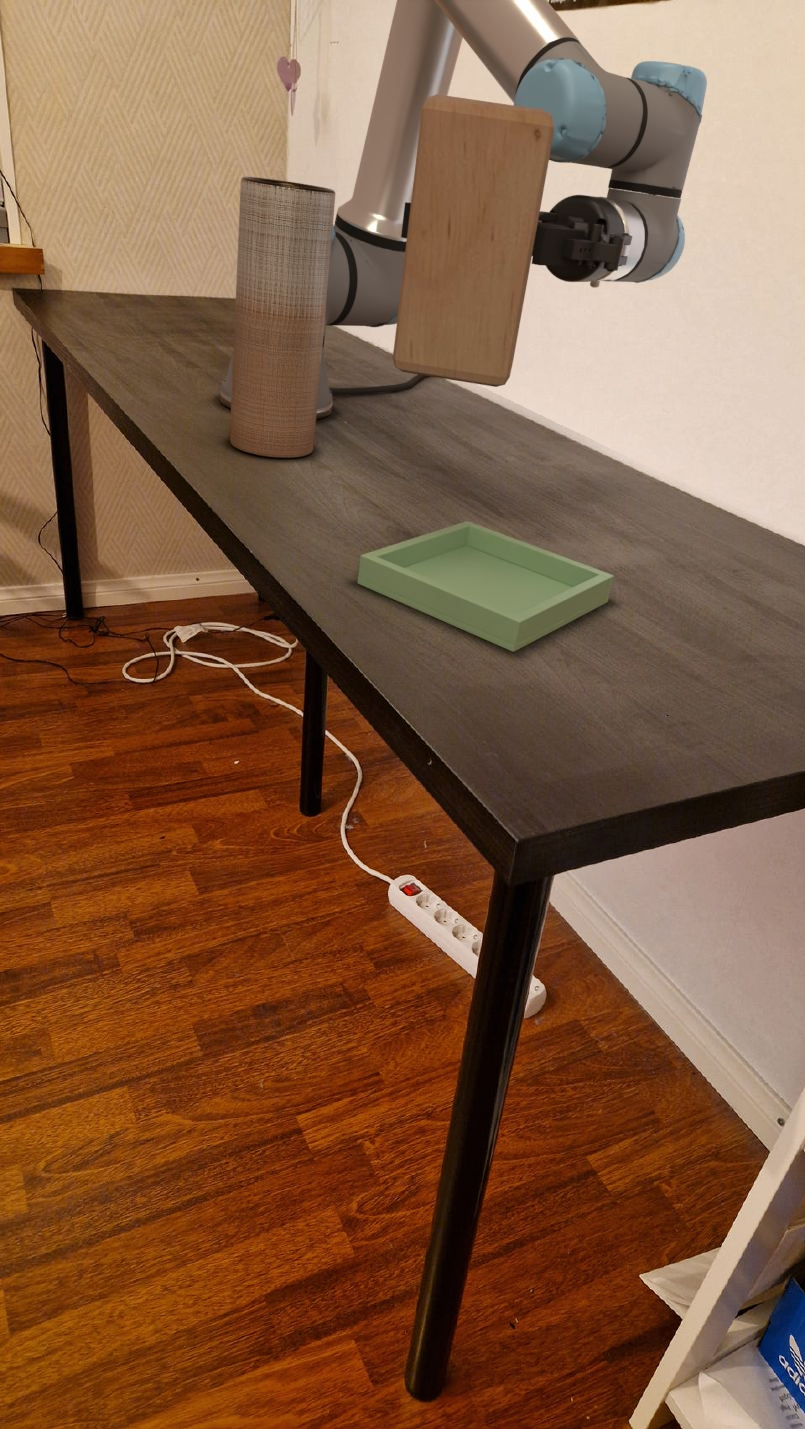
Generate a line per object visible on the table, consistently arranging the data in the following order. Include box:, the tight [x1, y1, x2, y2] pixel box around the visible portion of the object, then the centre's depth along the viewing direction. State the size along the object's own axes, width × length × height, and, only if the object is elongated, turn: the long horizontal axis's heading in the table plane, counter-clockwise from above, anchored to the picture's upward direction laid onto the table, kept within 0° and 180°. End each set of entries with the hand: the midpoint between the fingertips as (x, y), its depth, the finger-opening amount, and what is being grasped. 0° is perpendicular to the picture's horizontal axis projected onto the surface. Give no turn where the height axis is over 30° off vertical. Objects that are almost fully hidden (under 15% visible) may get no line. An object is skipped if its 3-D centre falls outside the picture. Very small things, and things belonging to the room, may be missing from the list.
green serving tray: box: [356, 520, 615, 653], centre depth 84 cm, size 16×16×3 cm
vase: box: [229, 176, 336, 460], centre depth 108 cm, size 10×10×28 cm
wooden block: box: [392, 94, 554, 388], centre depth 80 cm, size 10×10×20 cm
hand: (469, 232), depth 79 cm, fingers closed on wooden block, 13 cm apart
